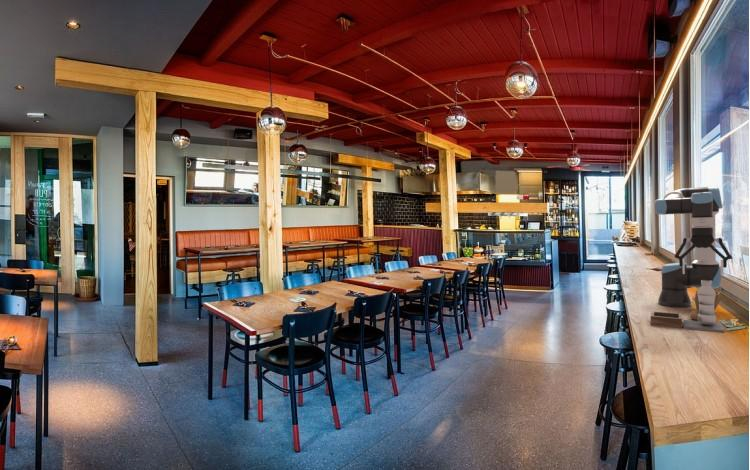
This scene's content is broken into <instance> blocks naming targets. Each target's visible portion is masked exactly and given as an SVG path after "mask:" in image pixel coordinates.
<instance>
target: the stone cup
mask: <svg viewBox="0 0 750 470" xmlns="http://www.w3.org/2000/svg"><path fill="white" fill-rule="evenodd" d="M698 289H699V288H698ZM698 289H696V291H695V294H694V302H695V303H694V304H695V309H693V310H691V312H690V313H689V317H688V318H690V320H693V321H698V319H697V318H698V314H699V299H698V294H697V291H698ZM715 292H716V295H715V301H714V310H715V311H716V310H717V308H718V306H719V304H720V301H721V296H722V295H721V292H720V291H717V290H715ZM715 316H716V314H715Z"/></svg>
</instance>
